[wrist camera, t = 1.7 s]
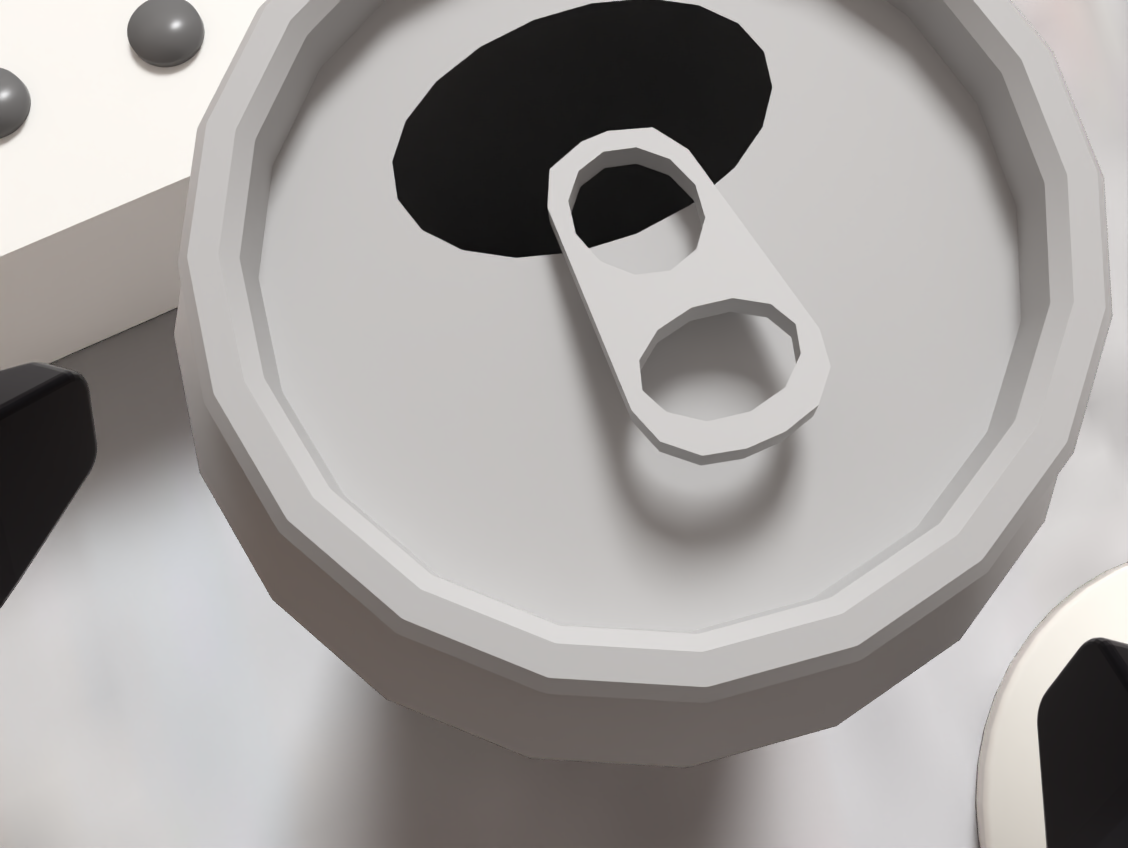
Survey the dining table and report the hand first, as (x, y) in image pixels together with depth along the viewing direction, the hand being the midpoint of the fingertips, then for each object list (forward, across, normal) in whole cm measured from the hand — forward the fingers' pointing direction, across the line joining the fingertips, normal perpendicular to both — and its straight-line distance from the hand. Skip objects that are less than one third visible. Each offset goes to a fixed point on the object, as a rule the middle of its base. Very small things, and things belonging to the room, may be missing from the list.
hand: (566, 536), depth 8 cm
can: (+8, 0, +5) cm, 10 cm away
